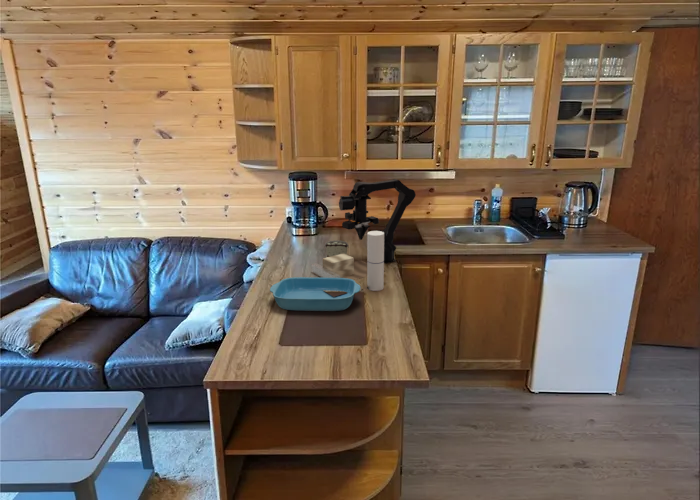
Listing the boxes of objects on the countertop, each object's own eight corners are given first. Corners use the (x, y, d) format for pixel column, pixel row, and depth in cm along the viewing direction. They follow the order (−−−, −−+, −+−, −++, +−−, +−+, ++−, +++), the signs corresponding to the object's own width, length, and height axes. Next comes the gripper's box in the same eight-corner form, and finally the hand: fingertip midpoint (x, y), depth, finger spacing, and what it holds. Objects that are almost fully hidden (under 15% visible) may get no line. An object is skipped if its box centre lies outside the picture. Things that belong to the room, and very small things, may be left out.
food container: (350, 258, 244) (349, 240, 241) (348, 262, 238) (348, 243, 235) (326, 258, 245) (326, 239, 242) (324, 262, 239) (324, 243, 236)
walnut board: (360, 262, 238) (360, 260, 237) (385, 274, 222) (385, 271, 222) (310, 275, 222) (310, 272, 221) (334, 288, 206) (334, 285, 206)
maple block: (344, 269, 225) (343, 253, 222) (354, 274, 219) (353, 257, 216) (323, 274, 218) (322, 258, 216) (332, 279, 212) (332, 263, 210)
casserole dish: (265, 313, 184) (263, 296, 182) (277, 291, 205) (276, 275, 203) (359, 315, 181) (358, 298, 179) (361, 292, 202) (361, 277, 200)
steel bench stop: (316, 271, 223) (315, 263, 222) (340, 283, 207) (339, 275, 206) (311, 272, 221) (311, 264, 220) (335, 285, 206) (335, 276, 205)
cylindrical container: (364, 289, 205) (364, 234, 197) (371, 283, 211) (371, 230, 203) (379, 291, 202) (380, 236, 194) (386, 286, 208) (386, 232, 200)
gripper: (365, 203, 238) (365, 232, 243) (335, 208, 228) (335, 239, 233) (379, 207, 229) (379, 237, 234) (348, 212, 219) (349, 244, 224)
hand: (360, 239), depth 231 cm, fingers closed
